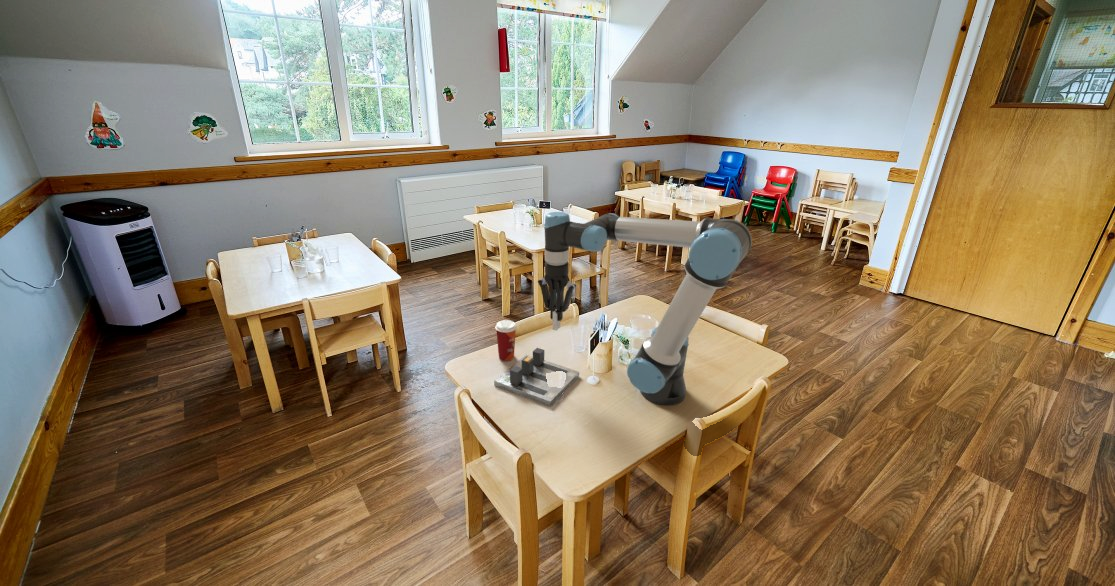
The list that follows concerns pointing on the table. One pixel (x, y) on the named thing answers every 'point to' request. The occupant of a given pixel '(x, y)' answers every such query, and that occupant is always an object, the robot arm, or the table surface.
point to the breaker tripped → (528, 365)
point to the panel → (537, 382)
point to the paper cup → (506, 339)
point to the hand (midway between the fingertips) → (556, 328)
